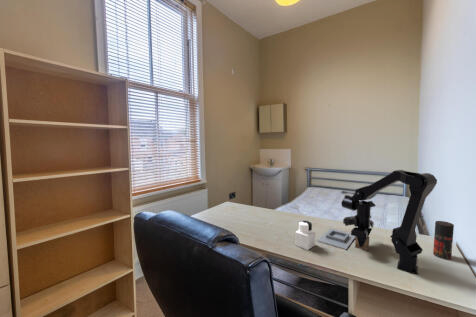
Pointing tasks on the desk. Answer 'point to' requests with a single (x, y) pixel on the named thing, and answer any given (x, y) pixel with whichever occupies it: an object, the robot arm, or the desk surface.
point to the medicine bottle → (305, 235)
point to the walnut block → (363, 245)
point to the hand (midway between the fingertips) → (362, 244)
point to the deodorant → (443, 240)
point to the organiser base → (337, 238)
